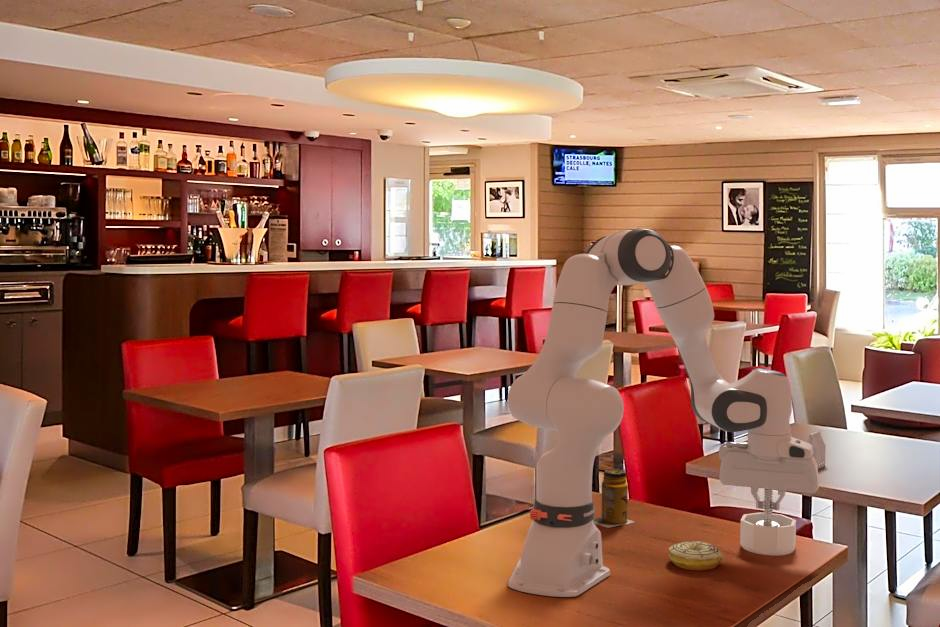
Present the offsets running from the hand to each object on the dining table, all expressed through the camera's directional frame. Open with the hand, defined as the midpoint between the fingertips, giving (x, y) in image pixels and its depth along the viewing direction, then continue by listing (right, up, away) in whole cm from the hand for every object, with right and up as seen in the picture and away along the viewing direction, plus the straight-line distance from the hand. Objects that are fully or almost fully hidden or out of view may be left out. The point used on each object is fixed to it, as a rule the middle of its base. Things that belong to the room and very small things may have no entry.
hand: (767, 508), depth 205 cm
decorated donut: (-18, -10, -9) cm, 22 cm away
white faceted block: (+36, -3, +74) cm, 82 cm away
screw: (0, -6, +1) cm, 6 cm away
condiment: (-31, -7, +20) cm, 37 cm away
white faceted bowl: (0, -8, +1) cm, 8 cm away
